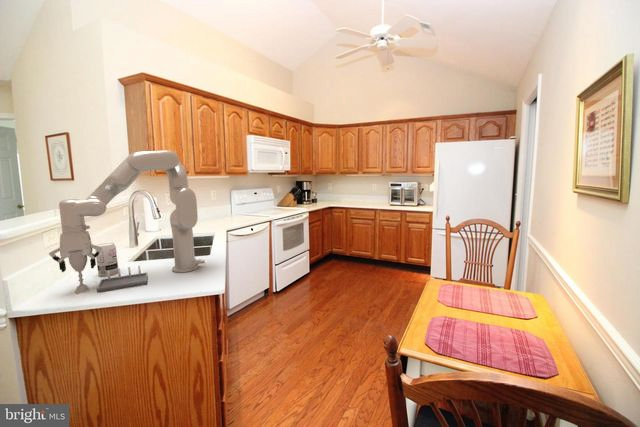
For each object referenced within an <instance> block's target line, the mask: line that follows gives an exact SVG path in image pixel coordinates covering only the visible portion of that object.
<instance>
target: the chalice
mask: <svg viewBox="0 0 640 427" xmlns="http://www.w3.org/2000/svg"><path fill="white" fill-rule="evenodd" d="M82 252H83V251H78V252H68V253H69V254H70V257H68V264H69V265H70V266H71V267H72V269H73V270H74V271H75V272H77V274H78V275H77V276H78V282H79V285H78V286H76V289H75V291H74V293H75V294H83V293H86V292H89V291H90V290H91V289H90V288H89V286H88V285H87V284H84V283H83V282H84V278H83V274H82V271H84V270H85V268H86V265H87V264H88V255H86V256H83V254H82Z"/></svg>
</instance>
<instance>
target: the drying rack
mask: <svg viewBox="0 0 640 427" xmlns="http://www.w3.org/2000/svg"><path fill="white" fill-rule="evenodd" d="M137 267H138V268H137V269H138V273H134V274H131V272H132V271H131V266H128V267H127V270H128V275H122V276H121V268H118V272H117V275H118V276H116V277H115V276H114V277H111V276H110V272H109V270H107V274H108V276H107V278H102V279H100V281H99V284H98V285H97V286H96V292H97V294H100V293H106V292H110V291H111V292H112V291H116V290H117V291H118V290H123V289H130V288H134V287H136V288H137V287H141V286H147V285H148V278H149V277H148V272H142V271H141V266H140V265H138V266H137Z"/></svg>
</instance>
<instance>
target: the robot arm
mask: <svg viewBox="0 0 640 427" xmlns="http://www.w3.org/2000/svg"><path fill="white" fill-rule="evenodd" d="M163 170H164V172H165V173H166V174H167V175H166V176H167V179H168V188H169V199H170V201H171V203H172V204H174V205H175V209H174V210H173V211H171V213H170V216H169V224H170V227H171V228H170V229H171V234H172V246H173V247H172V248H173V257H174V266H172V267H171V271H172V272H173V273H188V272H189V273H190V272H192V271H195V270H197V269H198V268H199V266H200V265H199V264H205V262H206V261H205V259H202V258H201V259H200V258H199V259H196V257H195V245H194V233H193V228H194V227H195V226H196V225H197V223H198V220H199V217H198V202H197V200H198V199H197V196H196V193H195V191H194V190H193V189H191V188H190V187H189V181H188V176H187V171H186V168H185V167H184V165H183V164H182V162H180V157H179V156H178V154H177V153H176V152H175V151H173V150H167V149H165V150H150V151H144V150H143V151H135V152H132V153H130V154H129V155H128V156H127V157H126V158H124V160H123V161H122V162H121V163H120V164H119V165H118V166H117V167H116V168H115V169H114V170H113V171H112V172H111V173H110V174H109V175H108V176H107V177H106V178H105V179H104V180H103V181H102V182H101V184H100V185H99V186H97V188H95V189H94V191H92V192H91V193H90V195H89V196H88V197H86V198H85V199H83V200H81V199H63V200H62V199H61V200H60V201H59V203H58V207H59V208H58V209H59V215H60V224H61V233H60V236H59V247H58V248H56V249H54V250H52V251H50V252H48V255H49V256H50V257H51V258H52V260H54V261H55V262H57V264H58V265H59V270H60V271H61V273H64V272H66V270H67V266H66V261H65V259H66V258H68V259H69V257H70V254H69V253H68V252H78V251H83V252H82V254H83V256H86V255H87V257H89V258H90V259H89V260H90V261H89V262H90V269H94V268H95V266H96V265H97V260H96V257H97V256H98V255H99V253H100V252H101V250H102V247H99V246H97V244H93V243H92V238H91V236H90V232H89V231H88V230H90V229H91V227H90V225H87V224H86V220H85V217H99V216H102V215H104V214H105V213H106V211H107V205H108V204H109V203H110V202H111V201H112V200H113V199H114V198H115V197H116V196H118V195H120V194H121V193H122V192H125V191H126V190H127V189H128V188H129V187H130V186H132V184H133V183H134V182H135V181H136V180H137V179H138V178H139V176H141V175H142V174H143V173H144V172H148V171H149V172H150V171H153V172H154V171H163ZM95 249H97V252H96V251H95V252H94V253H93V250H95ZM57 253H59V254H60V255H59V256H60V257H59V256H58V255H56V254H57Z"/></svg>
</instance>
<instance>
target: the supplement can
mask: <svg viewBox="0 0 640 427" xmlns="http://www.w3.org/2000/svg"><path fill="white" fill-rule="evenodd" d="M96 246H99V247H102V250H101V252H100V253H99V255H98V256H97V257H96V258H95V260H96V265H97V272H98V276H100V277H108V274H107V270H109V272H110V277H111V276H115V275H116V274H117V275H118V269H119V263H118V254H117V246H116V245H115V243H114V242H106V243H100V244H99V243H98V244H96ZM94 250H95V253H96V252H97V249H94Z"/></svg>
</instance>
